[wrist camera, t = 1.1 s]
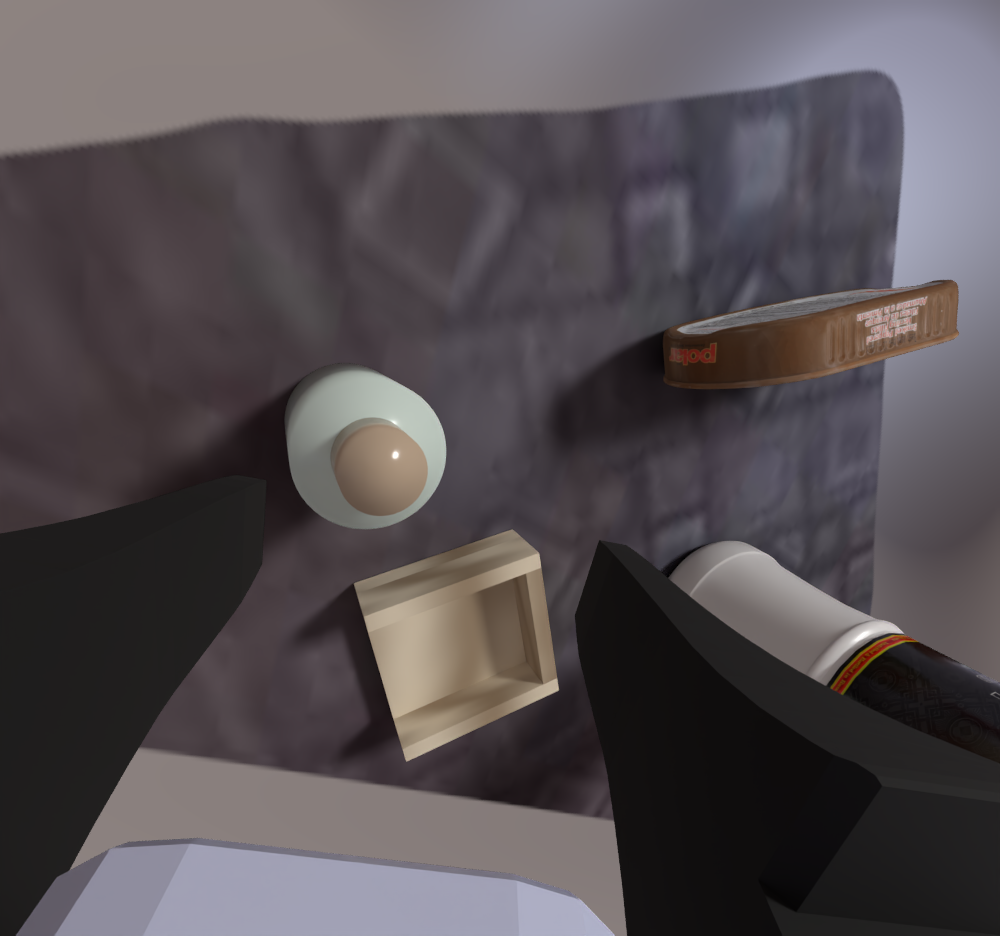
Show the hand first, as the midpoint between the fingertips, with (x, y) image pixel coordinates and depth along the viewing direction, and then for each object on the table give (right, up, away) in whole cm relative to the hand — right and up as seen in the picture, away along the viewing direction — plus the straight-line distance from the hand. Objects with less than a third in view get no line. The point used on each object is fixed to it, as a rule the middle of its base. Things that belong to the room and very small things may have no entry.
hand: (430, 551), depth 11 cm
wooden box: (-1, -6, +16) cm, 17 cm away
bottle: (-5, +4, +11) cm, 13 cm away
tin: (+15, +10, +18) cm, 25 cm away
